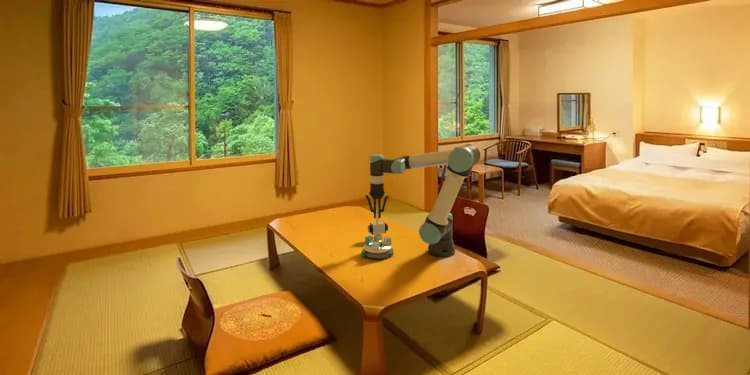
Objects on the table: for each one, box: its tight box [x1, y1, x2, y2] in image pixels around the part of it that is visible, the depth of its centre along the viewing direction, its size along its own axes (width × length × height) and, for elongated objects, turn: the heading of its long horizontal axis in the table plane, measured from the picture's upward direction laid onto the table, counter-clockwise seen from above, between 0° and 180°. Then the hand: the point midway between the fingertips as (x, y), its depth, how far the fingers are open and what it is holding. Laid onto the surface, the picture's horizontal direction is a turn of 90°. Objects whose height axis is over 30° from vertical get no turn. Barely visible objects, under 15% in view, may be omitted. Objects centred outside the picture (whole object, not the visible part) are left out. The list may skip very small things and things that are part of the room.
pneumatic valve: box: [367, 221, 389, 241], centre depth 258 cm, size 6×12×12 cm, turn 106°
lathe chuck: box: [362, 235, 393, 254], centre depth 234 cm, size 16×16×6 cm
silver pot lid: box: [360, 247, 394, 261], centre depth 234 cm, size 17×18×4 cm
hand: (377, 223), depth 238 cm, fingers closed
